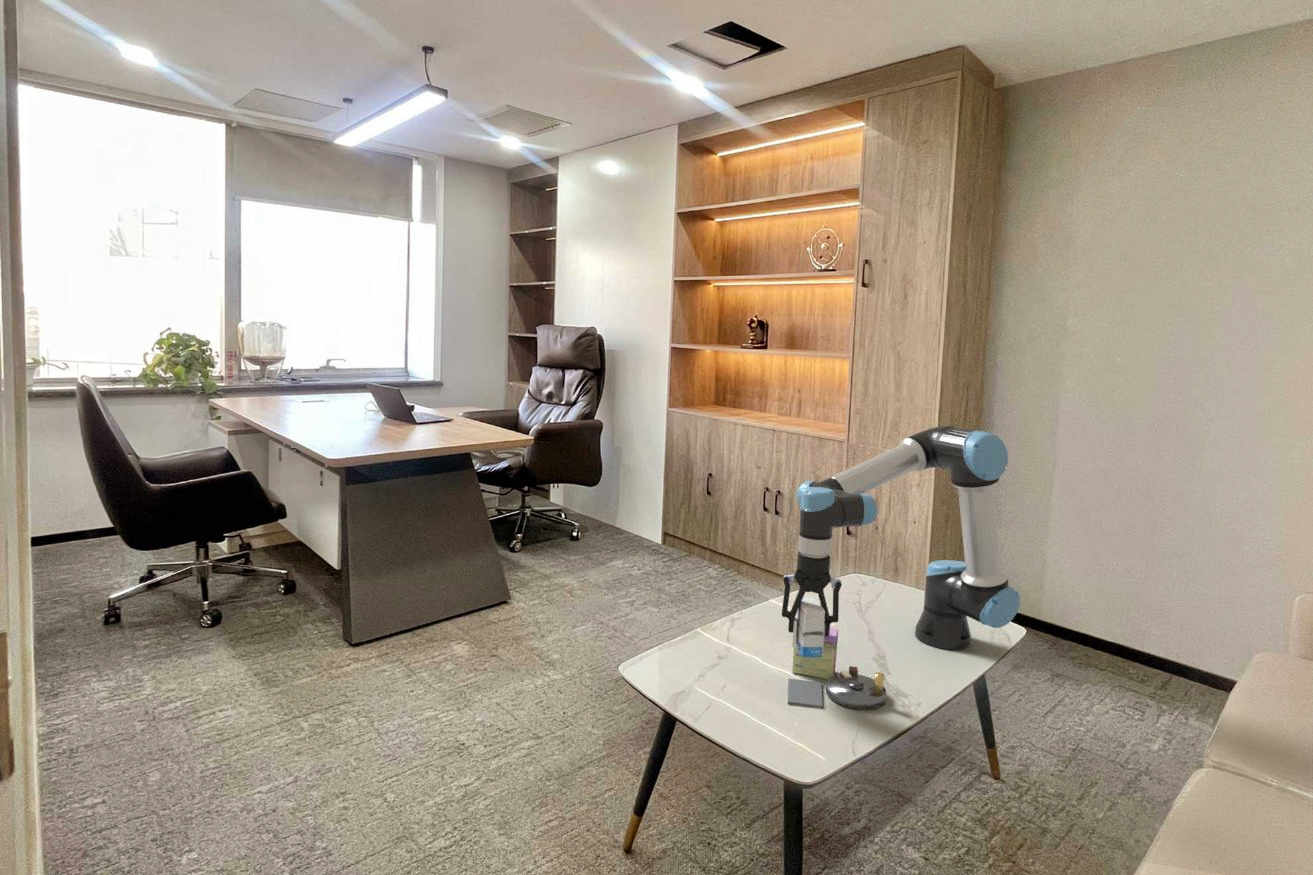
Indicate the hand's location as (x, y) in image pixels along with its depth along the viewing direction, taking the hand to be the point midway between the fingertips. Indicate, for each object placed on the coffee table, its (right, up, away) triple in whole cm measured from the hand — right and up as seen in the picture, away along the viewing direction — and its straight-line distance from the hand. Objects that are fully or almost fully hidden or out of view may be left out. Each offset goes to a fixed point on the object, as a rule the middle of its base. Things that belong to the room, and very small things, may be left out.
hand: (807, 646), depth 177 cm
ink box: (0, -1, 0) cm, 1 cm away
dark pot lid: (+12, -13, +2) cm, 17 cm away
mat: (0, -12, +2) cm, 12 cm away
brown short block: (+13, -11, +10) cm, 20 cm away
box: (+4, -11, +14) cm, 18 cm away
